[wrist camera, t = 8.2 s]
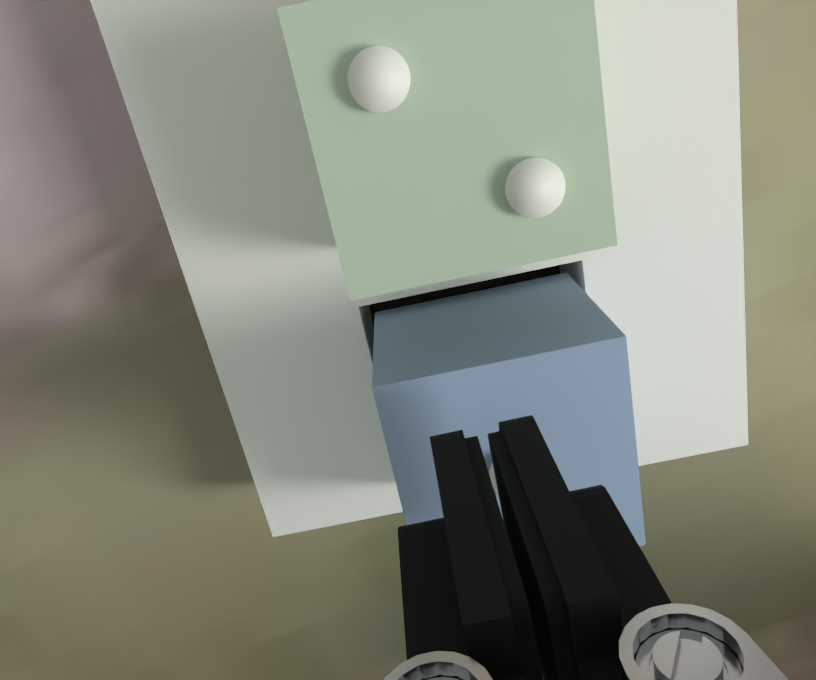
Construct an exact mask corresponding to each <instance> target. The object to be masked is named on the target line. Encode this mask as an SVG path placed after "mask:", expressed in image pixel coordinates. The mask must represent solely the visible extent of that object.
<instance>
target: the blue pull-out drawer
mask: <svg viewBox="0 0 816 680" xmlns="http://www.w3.org/2000/svg"><path fill="white" fill-rule="evenodd" d="M372 390H373V394H374V398H375V402H376V406H377V410H378V414H379V418H380V422H381V426H382V430H383V434H384V438H385V442H386V446H387V450H388V454H389V458H390V462H391V466H392V470H393V474H394V478H395V482H396V486H397V490H398V494H399V498H400V502H401V506H402V510H403V514H404V518H405V522H406V525H410V524H415V523H420V522H424V521H429V520H434V519H439V518H444V516H443V511H442V505H441V499H440V493H439V488H438V482H437V476H436V471H435V465H434V459H433V453H432V448H431V442H430V436H435V435H440V434H444V433H449V432H454V431H459V430H463V434H464V438H469V437H474V436H478V439H479V443H480V446H481V449H482V452H483V456H484V459H485V462H486V466H487V469H488V472H489V475H490V479H491V482H492V485H493V488H494V492H495V495H496V498H497V502H498V505H499V508H500V511H501V506H500V500H499V495H498V489H497V484H496V479H495V473H494V468H493V462H492V457H491V452H490V446H489V441H488V433H493V432H497V431H499V422H501V421H506V420H511V419H516V418H520V417H525V416H530V415H532V416H533V417H534V419H535V421H536V423H537V425H538V427H539V430H540V432H541V434H542V436H543V438H544V440H545V442H546V444H547V446H548V448H549V450H550V452H551V454H552V457H553V459H554V461H555V463H556V465H557V467H558V469H559V471H560V473H561V475H562V477H563V479H564V481H565V484H566V486H567V488H568V490H569V491H573V490H578V489H583V488H588V487H593V486H597V485H602V486H604V487H605V488H606V490H607V491H608V493H609V495H610V496H611V498H612V500H613V502H614V503H615V505H616V507H617V509H618V510H619V512H620V514H621V515H622V517H623V519H624V521H625V522H626V524H627V526H628V528H629V529H630V531H631V533H632V535H633V536H634V538H635V540H636V542H637V543H638V545H639V546H643V545H646V539H645V529H644V518H643V508H642V497H641V487H640V476H639V466H638V456H637V445H636V435H635V424H634V414H633V403H632V393H631V382H630V372H629V361H628V351H627V340H626V336H625V334H624V333H623V332H622V331H621V330H620V329H619V328H618V327H617V326H616V325H615V324H614V323H613V322H612V321H611V319H610V318H609V317H608V316H607V315H606V314H605V313H604V312H603V311H602V310H601V309H600V308H599V307H598V305H597V304H596V303H595V302H594V301H593V300H592V299H591V298H590V297H589V296H588V295H587V294H586V293H585V292H584V290H583V289H582V288H581V287H580V286H579V285H578V284H577V283H576V282H575V281H574V280H573V279H572V278H571V277H570V275H569V274H568V273H567V272H566V273H562V274H557V275H552V276H547V277H542V278H537V279H533V280H528V281H523V282H518V283H513V284H509V285H504V286H499V287H494V288H489V289H485V290H480V291H475V292H470V293H465V294H460V295H456V296H451V297H446V298H441V299H436V300H432V301H427V302H422V303H417V304H412V305H408V306H403V307H398V308H393V309H388V310H383V311H379V312H375V318H374V345H373V372H372ZM501 515H502V511H501ZM502 518H503V516H502Z"/></svg>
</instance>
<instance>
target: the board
mask: <svg viewBox="0 0 816 680" xmlns="http://www.w3.org/2000/svg"><path fill="white" fill-rule="evenodd" d="M306 1H311V0H90V2H91V4H92V7H93V10H94V13H95V16H96V19H97V22H98V25H99V28H100V31H101V34H102V37H103V40H104V43H105V46H106V48H107V51H108V54H109V57H110V60H111V63H112V66H113V69H114V72H115V75H116V78H117V81H118V84H119V87H120V90H121V93H122V95H123V98H124V101H125V104H126V107H127V110H128V113H129V116H130V119H131V122H132V125H133V128H134V131H135V134H136V137H137V139H138V142H139V145H140V148H141V151H142V154H143V157H144V160H145V163H146V166H147V169H148V172H149V175H150V178H151V181H152V183H153V186H154V189H155V192H156V195H157V198H158V201H159V204H160V207H161V210H162V213H163V216H164V219H165V222H166V225H167V227H168V230H169V233H170V236H171V239H172V242H173V245H174V248H175V251H176V254H177V257H178V260H179V263H180V266H181V269H182V272H183V274H184V277H185V280H186V283H187V286H188V289H189V292H190V295H191V298H192V301H193V304H194V307H195V310H196V313H197V316H198V318H199V321H200V324H201V327H202V330H203V333H204V336H205V339H206V342H207V345H208V348H209V351H210V354H211V357H212V360H213V362H214V365H215V368H216V371H217V374H218V377H219V380H220V383H221V386H222V389H223V392H224V395H225V398H226V401H227V404H228V406H229V409H230V412H231V415H232V418H233V421H234V424H235V427H236V430H237V433H238V436H239V439H240V442H241V445H242V448H243V451H244V453H245V456H246V459H247V462H248V465H249V468H250V471H251V474H252V477H253V480H254V483H255V486H256V489H257V492H258V495H259V497H260V500H261V503H262V506H263V509H264V512H265V515H266V518H267V521H268V524H269V527H270V530H271V533H272V536H273V537H277V536H282V535H287V534H292V533H297V532H302V531H307V530H313V529H318V528H323V527H328V526H333V525H338V524H343V523H349V522H354V521H359V520H364V519H369V518H374V517H379V516H385V515H390V514H395V513H400V512H403V510H402V506H401V502H400V498H399V494H398V490H397V486H396V482H395V478H394V474H393V470H392V466H391V462H390V458H389V454H388V450H387V446H386V442H385V438H384V434H383V430H382V426H381V422H380V418H379V414H378V410H377V406H376V402H375V398H374V394H373V390H372V372H373V345H374V325H373V321H372V317H371V312H370V308H369V305H370V304H375V303H379V302H384V301H389V300H394V299H399V298H403V297H408V296H413V295H418V294H423V293H427V292H432V291H437V290H442V289H447V288H452V287H456V286H461V285H466V284H471V283H476V282H480V281H485V280H490V279H495V278H500V277H504V276H509V275H514V274H519V273H524V272H528V271H533V270H538V269H543V268H548V267H552V266H557V265H559V269H560V274H562V273H566V272H567V273H568V274H569V275H570V277H571V278H572V279H573V280H574V281H575V282H576V283H577V284H578V285H579V286H580V287H581V288H582V289H583V290H584V292H585V293H586V294H587V295H588V296H589V297H590V298H591V299H592V300H593V301H594V302H595V303H596V304H597V305H598V307H599V308H600V309H601V310H602V311H603V312H604V313H605V314H606V315H607V316H608V317H609V318H610V319H611V321H612V322H613V323H614V324H615V325H616V326H617V327H618V328H619V329H620V330H621V331H622V332H623V333H624V334H625V336H626V340H627V351H628V361H629V372H630V382H631V393H632V403H633V414H634V424H635V435H636V445H637V456H638V466H642V465H647V464H652V463H657V462H662V461H667V460H672V459H678V458H683V457H688V456H693V455H698V454H703V453H708V452H714V451H719V450H724V449H729V448H734V447H739V446H744V445H748V412H747V374H746V335H745V297H744V258H743V220H742V181H741V143H740V104H739V66H738V28H737V0H594V5H595V16H596V26H597V37H598V47H599V58H600V68H601V79H602V89H603V100H604V110H605V120H606V131H607V141H608V152H609V162H610V173H611V183H612V194H613V204H614V215H615V225H616V236H617V245H616V246H611V247H607V248H602V249H597V250H592V251H587V252H583V253H578V254H573V255H568V256H563V257H559V258H554V259H549V260H544V261H539V262H535V263H530V264H525V265H520V266H516V267H511V268H506V269H501V270H496V271H492V272H487V273H482V274H477V275H472V276H468V277H463V278H458V279H453V280H448V281H444V282H439V283H434V284H429V285H425V286H420V287H415V288H410V289H405V290H401V291H396V292H391V293H386V294H381V295H377V296H372V297H367V298H362V299H357V300H353V301H350V298H349V294H348V290H347V286H346V282H345V278H344V274H343V270H342V267H341V263H340V259H339V255H338V251H337V247H336V243H335V239H334V235H333V231H332V227H331V223H330V219H329V215H328V211H327V207H326V203H325V199H324V195H323V191H322V187H321V183H320V179H319V175H318V171H317V167H316V163H315V159H314V155H313V151H312V147H311V143H310V139H309V135H308V131H307V127H306V123H305V119H304V115H303V111H302V107H301V103H300V99H299V95H298V91H297V87H296V83H295V79H294V75H293V71H292V67H291V63H290V59H289V55H288V51H287V47H286V43H285V39H284V35H283V31H282V27H281V23H280V19H279V15H278V11H277V8H280V7H285V6H289V5H293V4H298V3H302V2H306Z"/></svg>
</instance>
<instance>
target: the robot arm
mask: <svg viewBox="0 0 816 680" xmlns="http://www.w3.org/2000/svg"><path fill="white" fill-rule="evenodd" d="M488 441H489V446H490V452H491V457H492V462H493V468H494V473H495V479H496V484H497V489H498V495H499V500H500V506H501V511H502V515H501V511H500V508H499V505H498V502H497V498H496V495H495V492H494V488H493V485H492V482H491V479H490V475H489V472H488V469H487V466H486V462H485V459H484V456H483V452H482V449H481V446H480V443H479V439H478V436H474V437H469V438H464V434H463V430H459V431H454V432H449V433H444V434H440V435H435V436H430V442H431V448H432V453H433V459H434V465H435V471H436V476H437V482H438V488H439V493H440V499H441V505H442V511H443V516H444V518H439V519H434V520H429V521H424V522H420V523H415V524H410V525H405V526H400V527H399V528H398V540H399V555H400V569H401V583H402V597H403V611H404V625H405V639H406V653H407V660H406V661H404V662H402V663H401V664H399V665H398V666H397V667H396V668H395V669H394V670H392V671H391V672H390V673H389V674H388V675H387V676H386V677H385V678H384V680H543V679H544V680H788V679H787V677H786V676H785V675H784V674H783V673H782V672H781V671H780V670H779V669H778V667H777V666H776V665H775V664H774V663H773V662H772V661H771V660H770V659H769V657H768V656H767V655H766V654H765V653H764V652H763V651H762V650H761V649H760V647H759V646H758V645H757V644H756V643H755V642H754V641H753V640H752V639H751V637H750V636H749V635H748V634H747V633H746V632H745V631H744V630H742V629H741V628H740V627H739V626H738V625H737V624H735V623H734V622H733V621H732V620H731V619H729V618H727V617H725V616H723V615H721V614H719V613H717V612H715V611H713V610H711V609H707V608H704V607H700V606H696V605H692V604H673V603H671V601H670V599H669V598H668V596H667V594H666V592H665V591H664V589H663V587H662V585H661V584H660V582H659V580H658V578H657V577H656V575H655V573H654V571H653V570H652V568H651V566H650V564H649V563H648V561H647V559H646V557H645V556H644V554H643V552H642V550H641V549H640V547H639V545H638V543H637V542H636V540H635V538H634V536H633V535H632V533H631V531H630V529H629V528H628V526H627V524H626V522H625V521H624V519H623V517H622V515H621V514H620V512H619V510H618V509H617V507H616V505H615V503H614V502H613V500H612V498H611V496H610V495H609V493H608V491H607V490H606V488H605V487H604V486H602V485H597V486H593V487H588V488H583V489H578V490H573V491H569V490H568V488H567V486H566V484H565V481H564V479H563V477H562V475H561V473H560V471H559V469H558V467H557V465H556V463H555V461H554V459H553V457H552V454H551V452H550V450H549V448H548V446H547V444H546V442H545V440H544V438H543V436H542V434H541V432H540V430H539V427H538V425H537V423H536V421H535V419H534V417H533V416H532V415H530V416H525V417H520V418H516V419H511V420H506V421H501V422H499V431H497V432H493V433H488ZM502 516H503V518H502ZM542 675H543V676H542Z"/></svg>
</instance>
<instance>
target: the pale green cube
mask: <svg viewBox="0 0 816 680" xmlns="http://www.w3.org/2000/svg"><path fill="white" fill-rule="evenodd" d="M277 11H278V15H279V19H280V23H281V27H282V31H283V35H284V39H285V43H286V47H287V51H288V55H289V59H290V63H291V67H292V71H293V75H294V79H295V83H296V87H297V91H298V95H299V99H300V103H301V107H302V111H303V115H304V119H305V123H306V127H307V131H308V135H309V139H310V143H311V147H312V151H313V155H314V159H315V163H316V167H317V171H318V175H319V179H320V183H321V187H322V191H323V195H324V199H325V203H326V207H327V211H328V215H329V219H330V223H331V227H332V231H333V235H334V239H335V243H336V247H337V251H338V255H339V259H340V263H341V267H342V270H343V274H344V278H345V282H346V286H347V290H348V294H349V298H350V301H353V300H357V299H362V298H367V297H372V296H377V295H381V294H386V293H391V292H396V291H401V290H405V289H410V288H415V287H420V286H425V285H429V284H434V283H439V282H444V281H448V280H453V279H458V278H463V277H468V276H472V275H477V274H482V273H487V272H492V271H496V270H501V269H506V268H511V267H516V266H520V265H525V264H530V263H535V262H539V261H544V260H549V259H554V258H559V257H563V256H568V255H573V254H578V253H583V252H587V251H592V250H597V249H602V248H607V247H611V246H616V245H617V236H616V225H615V215H614V204H613V194H612V183H611V173H610V162H609V152H608V141H607V131H606V120H605V110H604V100H603V89H602V79H601V68H600V58H599V47H598V37H597V26H596V16H595V5H594V0H311V1H306V2H302V3H298V4H293V5H289V6H285V7H280V8H277Z"/></svg>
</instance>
